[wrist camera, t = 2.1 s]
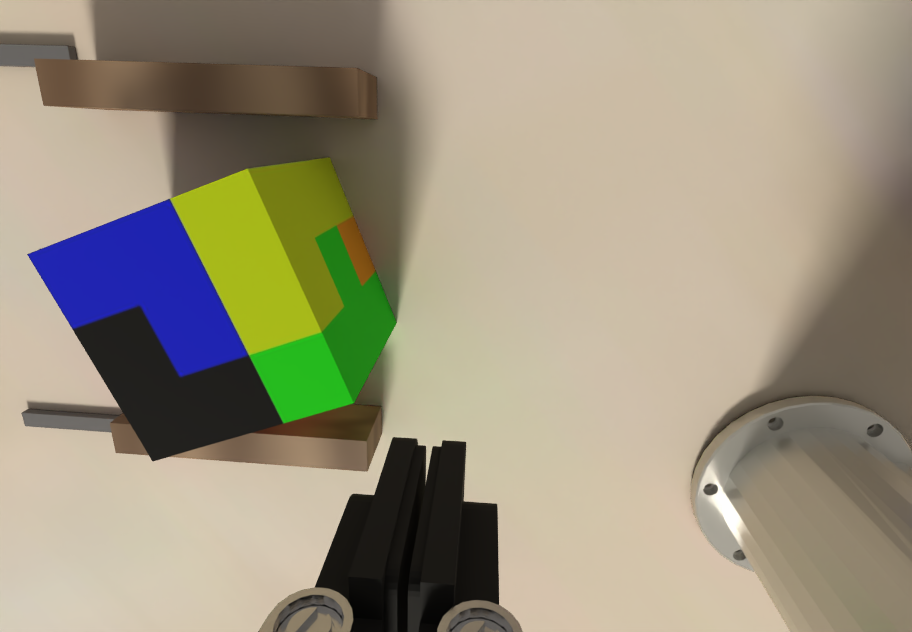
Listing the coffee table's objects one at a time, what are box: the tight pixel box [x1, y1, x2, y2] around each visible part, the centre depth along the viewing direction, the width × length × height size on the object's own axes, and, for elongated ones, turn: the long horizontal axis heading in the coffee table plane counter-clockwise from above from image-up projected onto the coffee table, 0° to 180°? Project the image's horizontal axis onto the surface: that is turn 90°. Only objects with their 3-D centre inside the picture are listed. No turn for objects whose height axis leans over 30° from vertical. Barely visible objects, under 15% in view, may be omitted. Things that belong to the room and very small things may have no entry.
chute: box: [34, 59, 382, 471], centre depth 29 cm, size 15×21×4 cm
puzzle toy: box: [27, 157, 397, 461], centre depth 26 cm, size 10×10×10 cm
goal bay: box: [0, 44, 119, 432], centre depth 31 cm, size 12×23×1 cm, turn 178°
